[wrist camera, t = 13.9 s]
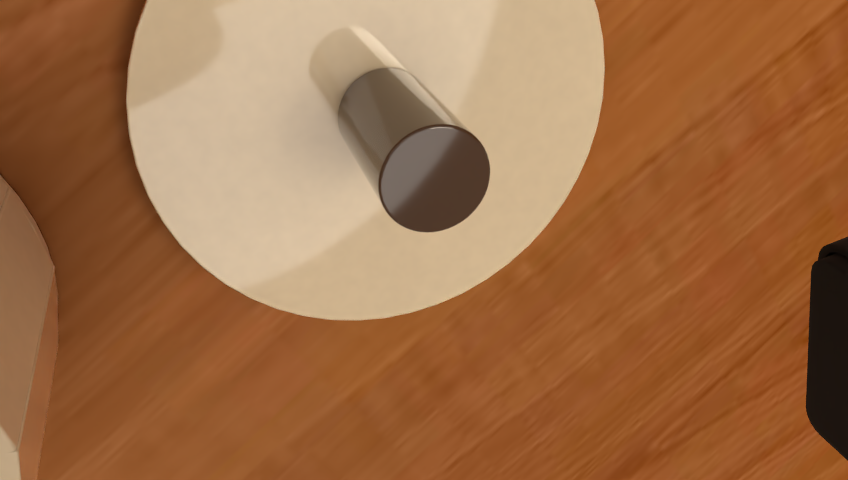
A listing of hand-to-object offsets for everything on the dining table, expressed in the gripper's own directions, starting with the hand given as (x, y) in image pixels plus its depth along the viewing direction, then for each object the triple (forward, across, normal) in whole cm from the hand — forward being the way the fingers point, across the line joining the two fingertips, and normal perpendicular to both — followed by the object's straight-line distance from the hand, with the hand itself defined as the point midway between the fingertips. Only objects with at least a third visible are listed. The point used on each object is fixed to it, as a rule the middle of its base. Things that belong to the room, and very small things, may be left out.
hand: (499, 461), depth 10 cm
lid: (+17, -2, +2) cm, 17 cm away
